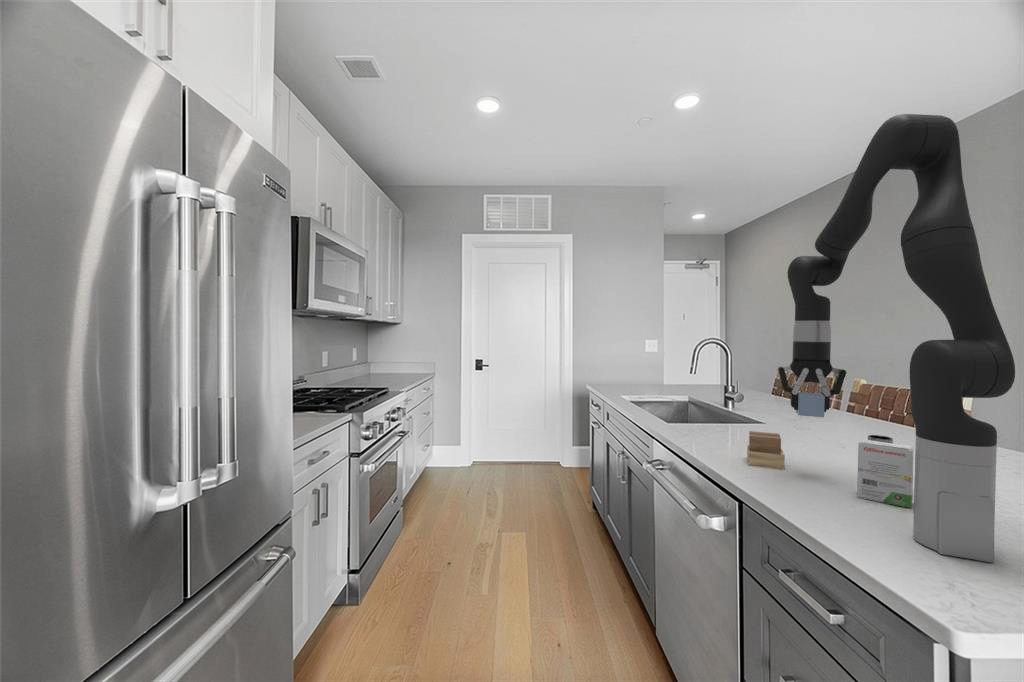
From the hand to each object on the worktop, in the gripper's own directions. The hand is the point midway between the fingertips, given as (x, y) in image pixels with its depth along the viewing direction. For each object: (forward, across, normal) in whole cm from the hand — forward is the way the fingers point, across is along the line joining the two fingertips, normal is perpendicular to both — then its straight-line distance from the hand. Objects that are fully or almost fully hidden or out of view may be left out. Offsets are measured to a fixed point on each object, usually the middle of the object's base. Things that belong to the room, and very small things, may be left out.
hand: (809, 410), depth 107 cm
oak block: (+16, -8, +7) cm, 20 cm away
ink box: (+16, +12, -12) cm, 23 cm away
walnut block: (+12, -9, +7) cm, 17 cm away
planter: (+16, +15, +3) cm, 22 cm away
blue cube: (+1, 0, 0) cm, 1 cm away
